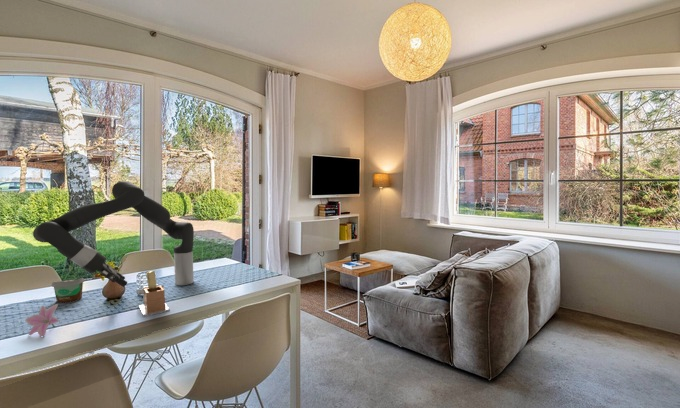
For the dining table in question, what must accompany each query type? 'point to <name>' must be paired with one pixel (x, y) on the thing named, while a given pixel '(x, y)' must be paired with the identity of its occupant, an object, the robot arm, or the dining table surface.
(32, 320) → the lily
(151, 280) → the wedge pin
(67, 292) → the food container
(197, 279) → the dining table surface
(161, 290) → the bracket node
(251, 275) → the dining table surface
